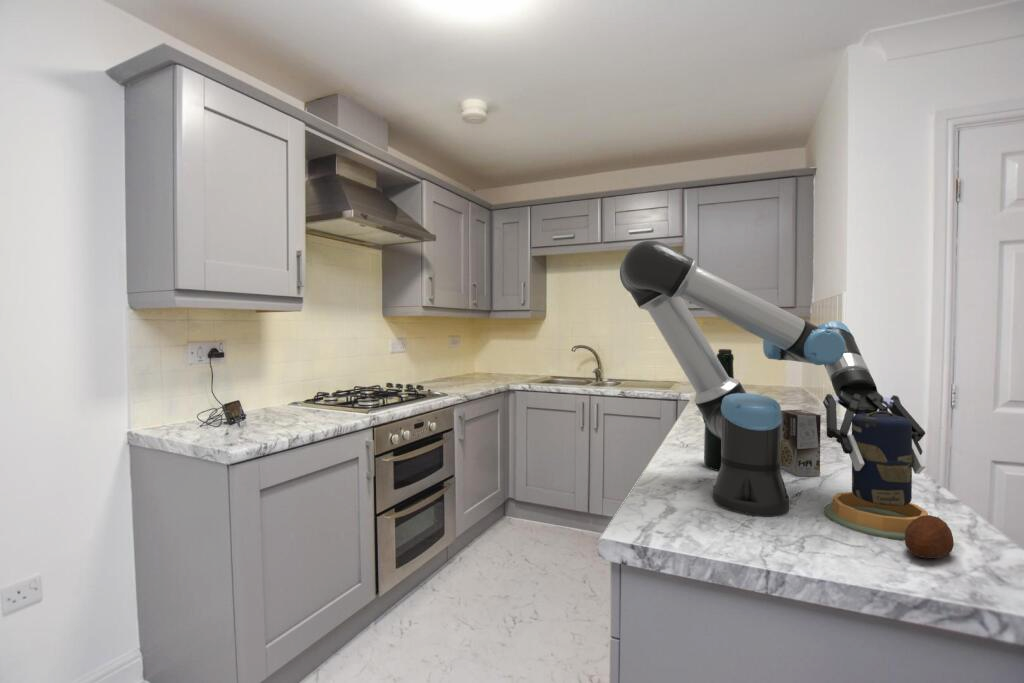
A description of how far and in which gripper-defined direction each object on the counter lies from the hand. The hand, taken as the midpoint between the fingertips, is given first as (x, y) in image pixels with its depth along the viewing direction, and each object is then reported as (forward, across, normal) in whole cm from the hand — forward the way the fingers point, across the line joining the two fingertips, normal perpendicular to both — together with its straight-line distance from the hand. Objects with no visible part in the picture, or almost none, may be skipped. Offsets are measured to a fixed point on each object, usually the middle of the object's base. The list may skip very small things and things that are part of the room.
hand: (889, 468), depth 91 cm
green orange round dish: (+6, 0, -10) cm, 12 cm away
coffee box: (-18, +3, -34) cm, 39 cm away
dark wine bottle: (-18, +22, -34) cm, 45 cm away
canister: (+3, 0, -8) cm, 8 cm away
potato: (+16, 0, 0) cm, 16 cm away
